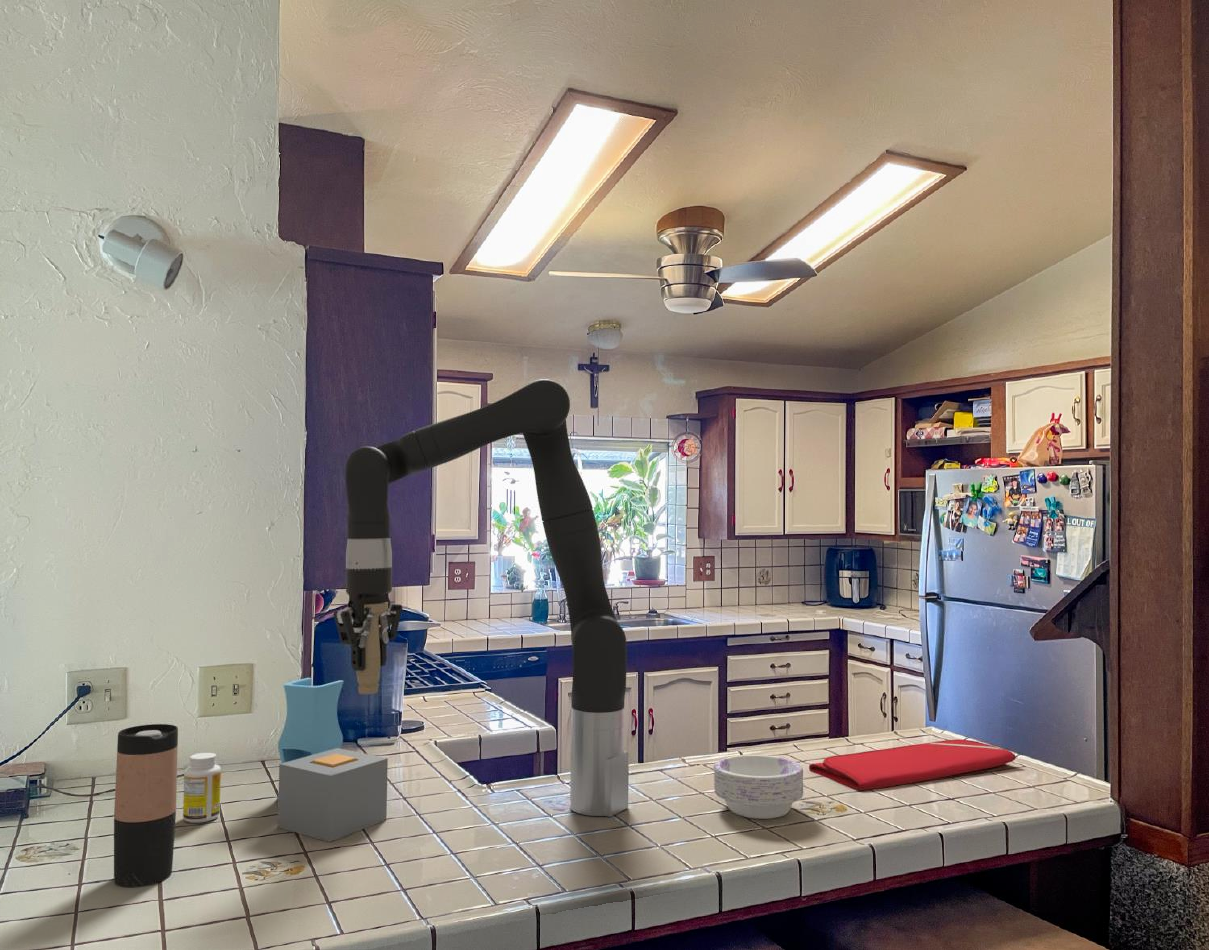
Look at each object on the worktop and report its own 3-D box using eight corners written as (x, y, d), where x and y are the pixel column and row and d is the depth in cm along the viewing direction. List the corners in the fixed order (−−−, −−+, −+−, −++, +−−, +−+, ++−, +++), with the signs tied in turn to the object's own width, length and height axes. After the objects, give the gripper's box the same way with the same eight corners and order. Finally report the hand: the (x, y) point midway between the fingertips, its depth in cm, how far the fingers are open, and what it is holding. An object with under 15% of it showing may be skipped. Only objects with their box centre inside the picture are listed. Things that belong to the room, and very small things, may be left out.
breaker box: (386, 819, 147) (387, 758, 147) (329, 841, 136) (330, 775, 137) (335, 806, 153) (337, 747, 153) (277, 827, 143) (279, 763, 143)
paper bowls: (702, 799, 159) (702, 754, 159) (781, 795, 162) (781, 751, 162) (731, 828, 144) (731, 779, 144) (818, 823, 147) (818, 774, 148)
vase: (341, 791, 162) (344, 680, 163) (314, 804, 154) (317, 687, 155) (305, 786, 164) (308, 677, 165) (276, 799, 157) (279, 684, 158)
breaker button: (355, 782, 146) (355, 757, 146) (332, 790, 142) (333, 764, 142) (335, 777, 148) (335, 753, 148) (311, 785, 144) (312, 760, 144)
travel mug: (126, 866, 126) (132, 723, 127) (182, 865, 127) (187, 723, 128) (101, 888, 118) (106, 736, 119) (160, 887, 119) (165, 736, 120)
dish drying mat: (807, 772, 179) (807, 753, 179) (958, 751, 196) (958, 734, 196) (860, 794, 164) (860, 774, 165) (1018, 770, 181) (1018, 751, 182)
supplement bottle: (213, 810, 150) (215, 749, 151) (224, 818, 146) (226, 756, 147) (178, 817, 147) (180, 754, 147) (188, 826, 143) (190, 761, 143)
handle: (386, 695, 147) (386, 603, 148) (346, 696, 146) (346, 605, 147) (389, 689, 152) (389, 601, 153) (350, 691, 151) (350, 602, 152)
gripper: (353, 568, 142) (353, 676, 141) (414, 563, 154) (415, 663, 153) (320, 567, 146) (320, 673, 145) (383, 563, 158) (383, 660, 157)
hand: (369, 667), depth 149 cm, fingers closed on handle, 4 cm apart
